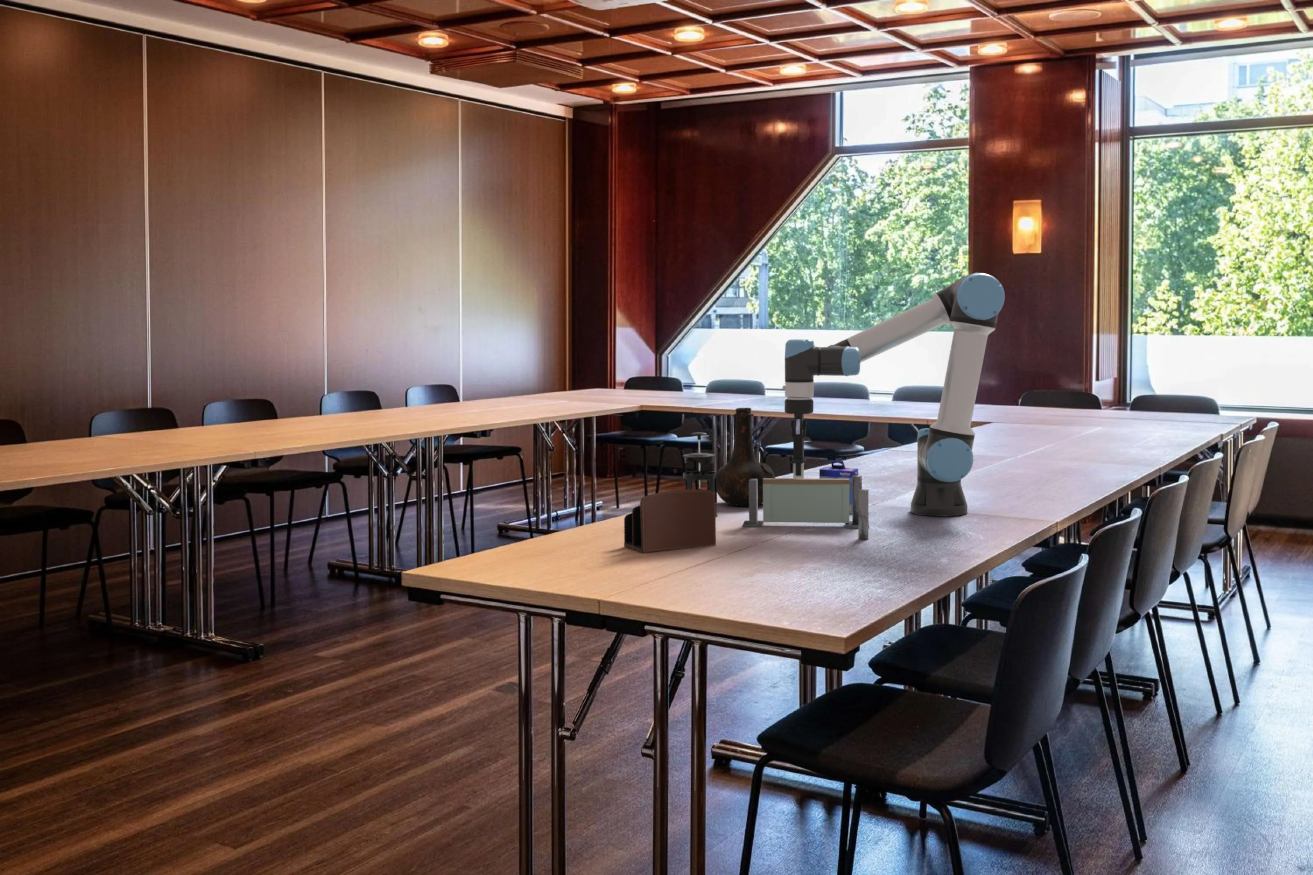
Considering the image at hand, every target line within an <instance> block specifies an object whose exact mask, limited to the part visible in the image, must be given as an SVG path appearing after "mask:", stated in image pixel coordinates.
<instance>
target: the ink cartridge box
mask: <svg viewBox="0 0 1313 875" xmlns="http://www.w3.org/2000/svg"><path fill="white" fill-rule="evenodd" d="M830 464H831V466H824V467H821V468H819V471H818V472H819V473H818V474H819V478H818V479H849V515H852V476H859V468H858V467H857V468H855V467H846V465H845V462H844V460H830Z"/></svg>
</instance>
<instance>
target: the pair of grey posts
mask: <svg viewBox="0 0 1313 875" xmlns="http://www.w3.org/2000/svg"><path fill="white" fill-rule="evenodd" d="M758 506H759V505H758V484H757V479H749V506H748V507H749V508H748V520H744V521H743V523H742V527H743V528H763V527H764V524H765V522H763V520H759V515H758V513H759V512H758V511H759V510H758V509H759V507H758ZM851 516H852V519H851V520H852V521H850V520H849V523H844V526H845V527H844V528H845V529H858V532H857V533H858V535H857V537H858V538H857V539H858V540H860V541H867V540H869V529H870V521H869V489H868V488H867V489H866V488H863V476H862V475H858V476H852V514H851Z"/></svg>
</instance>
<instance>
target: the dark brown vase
mask: <svg viewBox="0 0 1313 875" xmlns="http://www.w3.org/2000/svg"><path fill="white" fill-rule="evenodd" d="M751 411H752V408H751V407H737V408H735V413H734V414H732V417H735V428H734V429H735V430H734V442H733V449H732V453H731V457H730V459H729V461H728V462H727V463H725V464H724V465H723V466H721V467H720V468H719V469H718V470H717V471H716V472H717V496H718V497H719V498H720V499H721V500H722V501H724V503H726V504H728V505H730V506H736V507H749V479H757V484H758V506H759V505H763V478H776V476H775V473H774V470H773V469H772V467H771V466H770V465H768V464H766V463H763V462H759V461H758V460H757V457H756V455H755V449H754V442H753V432H752V431H753V430H752V417H753V416H755V415H754V413H752V412H751Z"/></svg>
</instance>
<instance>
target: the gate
mask: <svg viewBox="0 0 1313 875" xmlns="http://www.w3.org/2000/svg"><path fill="white" fill-rule="evenodd" d="M762 514H763V515H762V519H763V520H762V521H763V522H764V523H807V524H808V523H813V524H814V523H815V524H817V523H818V524H820V523H821V524H822V523H823V524H824V523H825V524H826V523H827V524H845V523H849V521H850V514H849V479H819V478H809V477H808V478H805V477H804V478H790V477H788V478H786V477H785V478H776V477H775V478H763V503H762Z"/></svg>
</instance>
